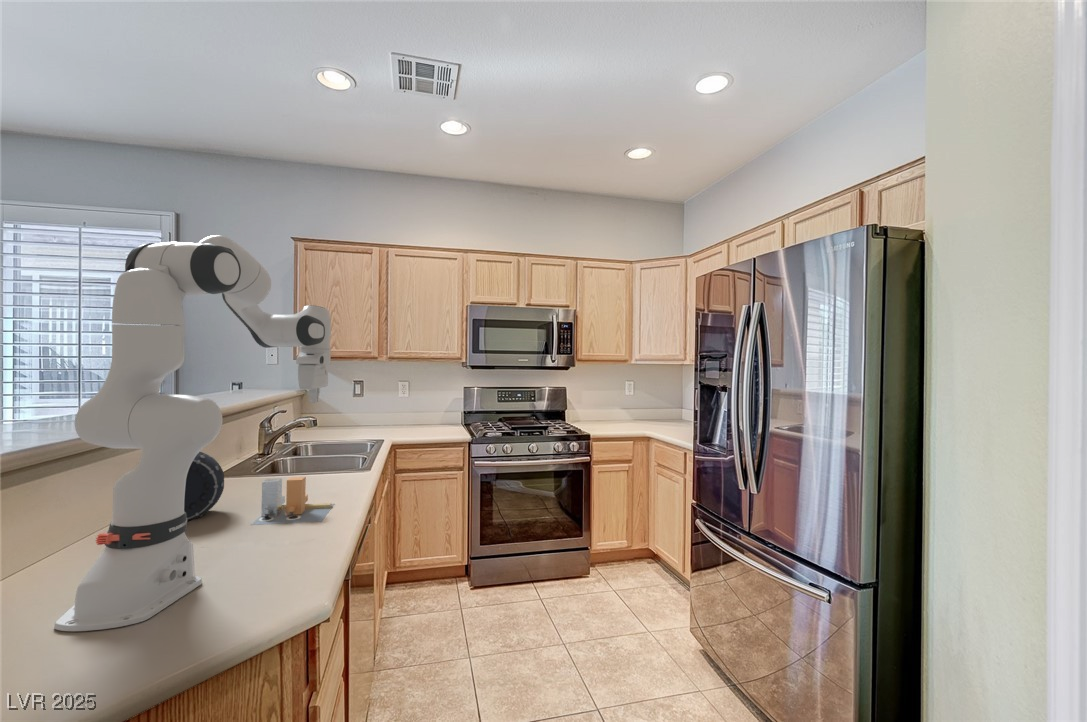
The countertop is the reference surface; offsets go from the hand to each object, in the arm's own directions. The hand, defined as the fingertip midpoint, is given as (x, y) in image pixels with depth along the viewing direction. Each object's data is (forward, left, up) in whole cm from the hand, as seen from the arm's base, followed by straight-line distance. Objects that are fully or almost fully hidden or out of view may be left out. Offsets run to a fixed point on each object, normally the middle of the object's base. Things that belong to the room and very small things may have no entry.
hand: (314, 402), depth 148 cm
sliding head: (-7, +2, -32) cm, 32 cm away
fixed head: (-7, +9, -32) cm, 34 cm away
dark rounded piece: (-6, +33, -33) cm, 47 cm away
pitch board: (-8, +2, -33) cm, 34 cm away
